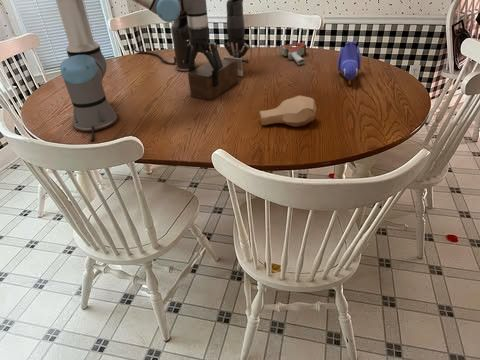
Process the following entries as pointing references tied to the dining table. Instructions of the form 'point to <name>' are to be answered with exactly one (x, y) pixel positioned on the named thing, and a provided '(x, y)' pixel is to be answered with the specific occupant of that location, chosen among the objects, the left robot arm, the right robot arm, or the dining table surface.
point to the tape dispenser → (294, 52)
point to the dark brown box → (211, 80)
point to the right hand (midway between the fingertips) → (237, 65)
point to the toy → (349, 61)
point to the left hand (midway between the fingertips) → (205, 83)
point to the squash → (291, 112)
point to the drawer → (237, 65)
